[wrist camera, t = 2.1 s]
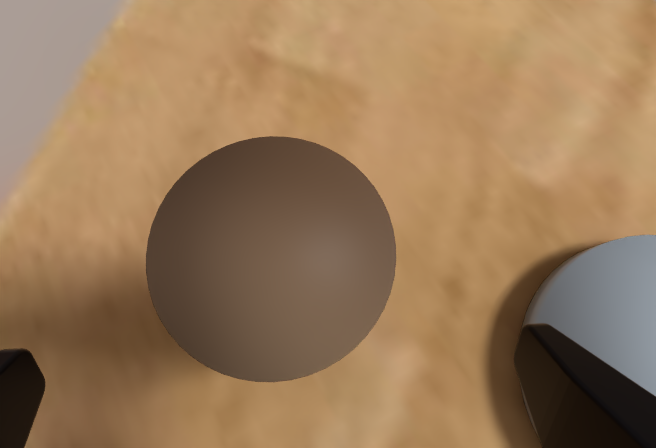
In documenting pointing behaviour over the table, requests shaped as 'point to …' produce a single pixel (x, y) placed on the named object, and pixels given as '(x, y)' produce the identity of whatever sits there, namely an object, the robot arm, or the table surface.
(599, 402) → the robot arm
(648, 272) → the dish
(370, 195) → the brown cylinder
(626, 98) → the table surface
